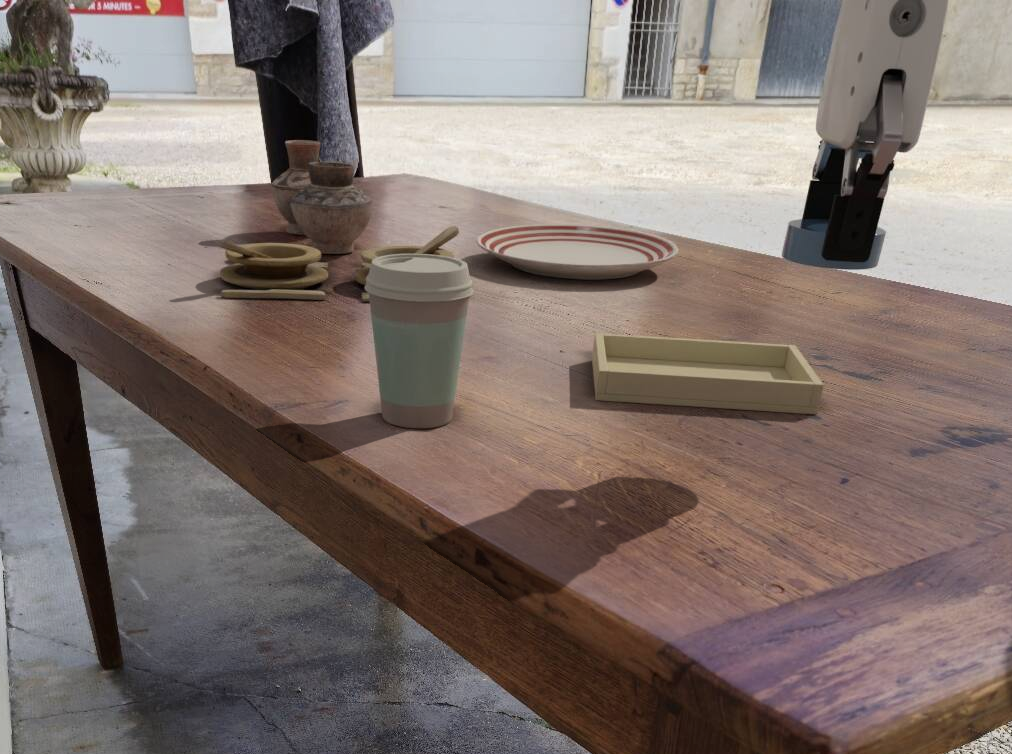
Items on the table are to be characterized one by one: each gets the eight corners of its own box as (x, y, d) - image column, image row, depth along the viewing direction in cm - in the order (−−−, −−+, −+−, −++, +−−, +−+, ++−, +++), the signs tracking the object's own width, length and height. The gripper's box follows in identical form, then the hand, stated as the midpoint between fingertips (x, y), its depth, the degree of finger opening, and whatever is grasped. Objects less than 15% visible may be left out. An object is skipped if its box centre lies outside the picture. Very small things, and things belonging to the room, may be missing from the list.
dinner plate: (630, 297, 128) (634, 268, 126) (439, 267, 139) (439, 240, 137) (701, 264, 148) (706, 239, 146) (529, 240, 159) (531, 216, 157)
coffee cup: (432, 397, 92) (436, 249, 85) (487, 425, 86) (496, 268, 79) (347, 410, 88) (344, 256, 81) (399, 440, 82) (400, 277, 75)
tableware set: (454, 270, 138) (456, 220, 135) (469, 304, 122) (472, 248, 119) (227, 265, 135) (223, 214, 132) (212, 299, 119) (207, 242, 116)
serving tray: (789, 372, 103) (795, 345, 102) (816, 414, 92) (824, 384, 91) (591, 359, 104) (594, 332, 103) (595, 400, 93) (599, 370, 92)
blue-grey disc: (863, 254, 79) (871, 222, 77) (888, 272, 73) (898, 237, 72) (773, 249, 79) (780, 216, 78) (791, 266, 73) (799, 232, 72)
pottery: (331, 226, 162) (329, 138, 155) (384, 257, 144) (384, 158, 137) (260, 228, 159) (255, 138, 152) (305, 260, 140) (300, 158, 133)
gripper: (1016, -66, 58) (919, 278, 68) (922, -50, 72) (853, 233, 83) (881, -72, 58) (804, 271, 69) (813, -55, 72) (758, 227, 83)
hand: (831, 248), depth 76 cm, fingers closed on blue-grey disc, 6 cm apart
